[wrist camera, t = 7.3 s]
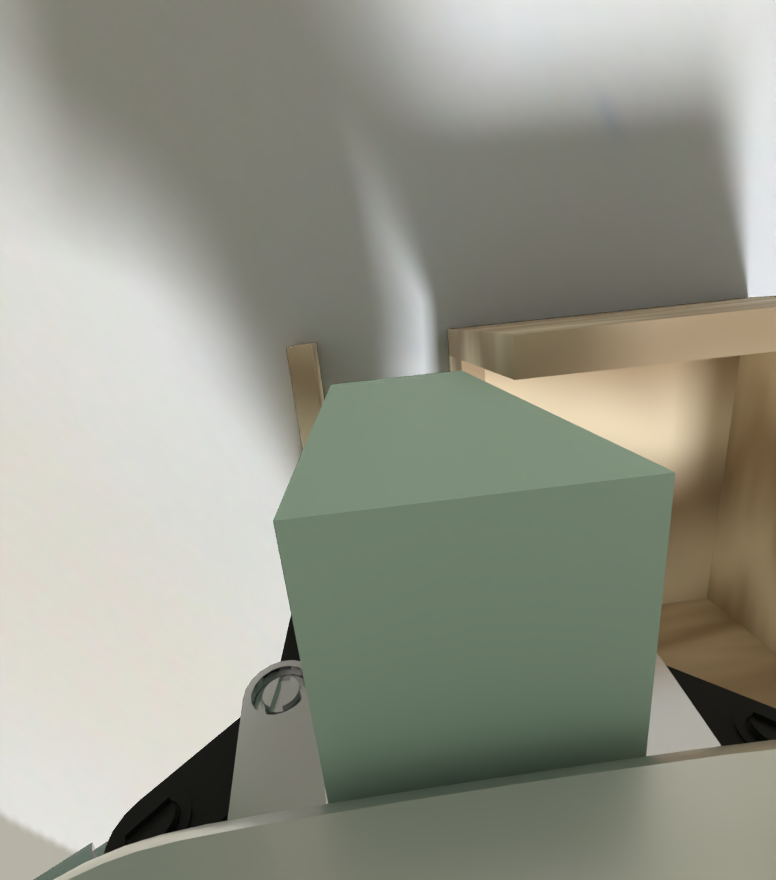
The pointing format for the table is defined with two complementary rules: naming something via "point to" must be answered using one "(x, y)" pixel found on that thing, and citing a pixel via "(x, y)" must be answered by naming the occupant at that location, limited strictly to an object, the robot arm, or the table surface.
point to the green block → (469, 586)
